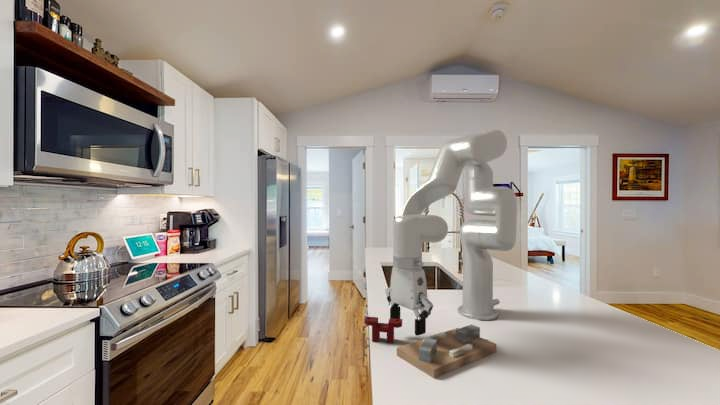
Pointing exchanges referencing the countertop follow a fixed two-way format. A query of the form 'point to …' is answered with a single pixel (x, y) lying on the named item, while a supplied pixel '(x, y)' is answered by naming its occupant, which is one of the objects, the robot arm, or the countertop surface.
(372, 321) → the bracket
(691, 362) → the countertop surface
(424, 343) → the jig
